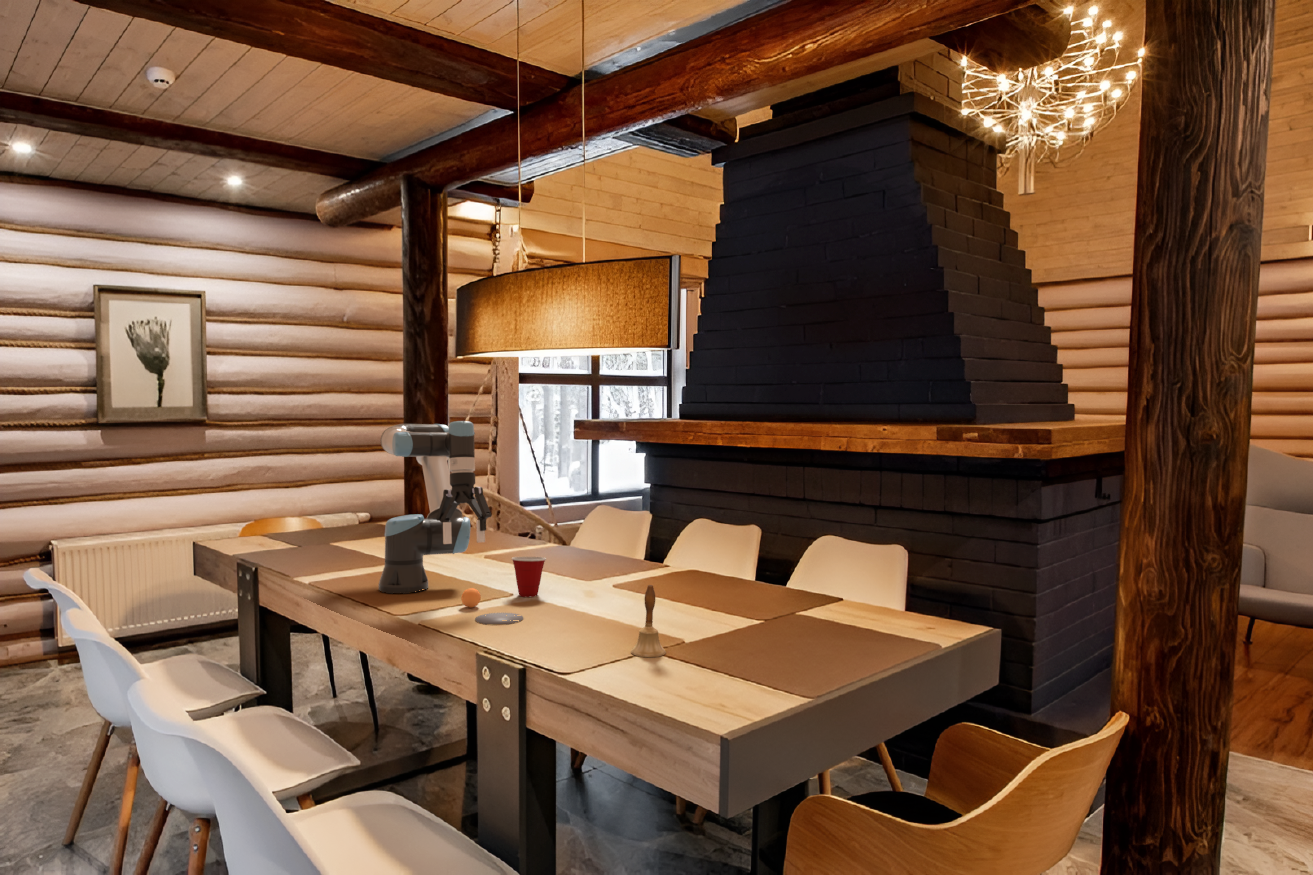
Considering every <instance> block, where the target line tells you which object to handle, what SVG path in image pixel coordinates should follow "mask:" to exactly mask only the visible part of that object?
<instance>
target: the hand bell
mask: <svg viewBox="0 0 1313 875" xmlns="http://www.w3.org/2000/svg"><path fill="white" fill-rule="evenodd" d="M655 605H656V593H655V588H654V585H652V584H649V585H647V589H646V590H645V594H644V607H645V611H646V612H645V613H646V614H645V615H646V616H645V622H644V625H645V626H644V627H642V628H640V629H639V631H638V638H637V641H636V644H635V645H634V647H632V648H631V650H630V653H631V655H633V656H636V657H642V658H659V657H663V656H665V655H666V653H667V651H666V649H665V648H664V647H663V646H662V644H661V642H660V638H659V637H660V636H659V630H658V629H657V628H655V627H654V626H653V622H654V621H653V620H654V616H653V614H654V608H655Z"/></svg>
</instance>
